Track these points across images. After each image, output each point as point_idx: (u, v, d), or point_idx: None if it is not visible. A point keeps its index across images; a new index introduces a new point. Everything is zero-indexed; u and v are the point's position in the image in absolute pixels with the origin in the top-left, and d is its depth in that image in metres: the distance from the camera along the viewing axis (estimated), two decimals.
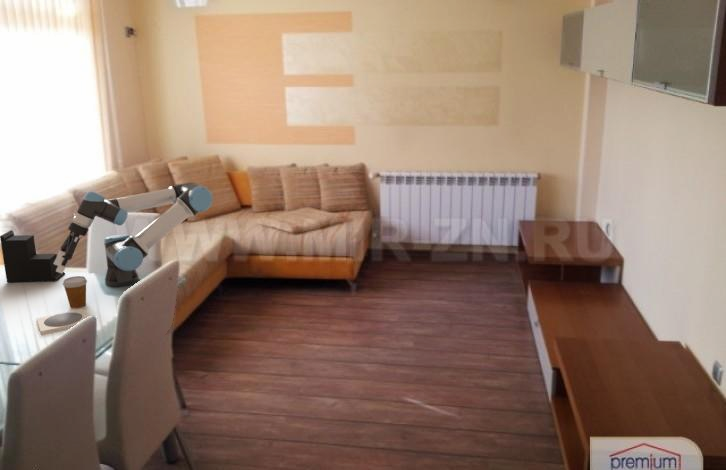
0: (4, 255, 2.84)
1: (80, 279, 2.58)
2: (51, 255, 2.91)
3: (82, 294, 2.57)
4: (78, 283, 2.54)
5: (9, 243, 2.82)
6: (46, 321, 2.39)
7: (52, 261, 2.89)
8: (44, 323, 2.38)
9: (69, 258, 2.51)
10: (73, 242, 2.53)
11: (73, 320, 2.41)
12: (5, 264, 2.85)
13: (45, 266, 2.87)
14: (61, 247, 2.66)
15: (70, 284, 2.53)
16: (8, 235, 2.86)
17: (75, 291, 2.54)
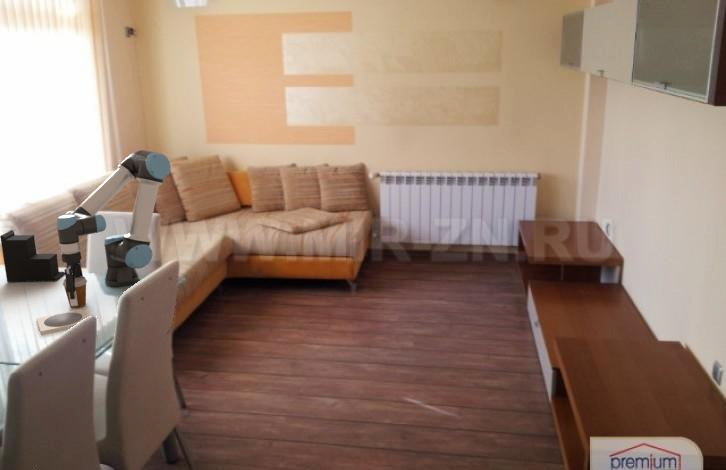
0: (4, 255, 2.84)
1: (80, 279, 2.58)
2: (51, 255, 2.92)
3: (82, 294, 2.57)
4: (78, 283, 2.54)
5: (9, 243, 2.83)
6: (46, 321, 2.39)
7: (52, 261, 2.89)
8: (44, 323, 2.38)
9: (71, 291, 2.50)
10: (67, 275, 2.49)
11: (73, 320, 2.41)
12: (5, 264, 2.85)
13: (45, 266, 2.87)
14: None
15: None
16: (8, 235, 2.86)
17: None
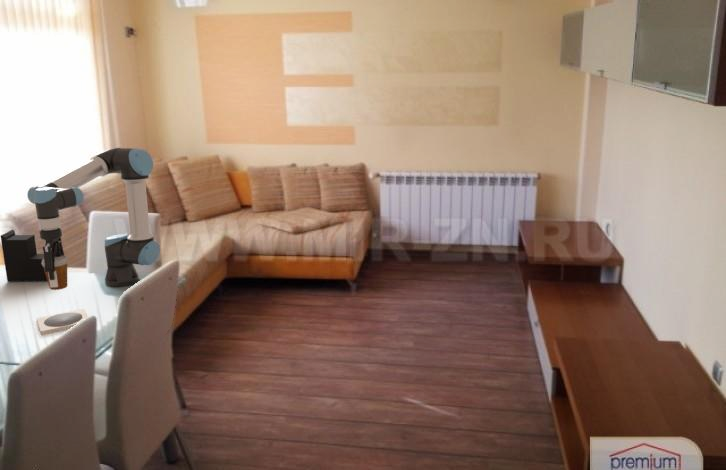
0: (4, 255, 2.85)
1: (61, 258, 2.36)
2: None
3: (63, 274, 2.35)
4: (58, 262, 2.32)
5: (9, 243, 2.83)
6: (46, 321, 2.39)
7: None
8: (44, 323, 2.38)
9: (50, 271, 2.28)
10: (46, 253, 2.27)
11: (73, 320, 2.41)
12: (5, 263, 2.86)
13: None
14: None
15: None
16: (9, 235, 2.87)
17: None
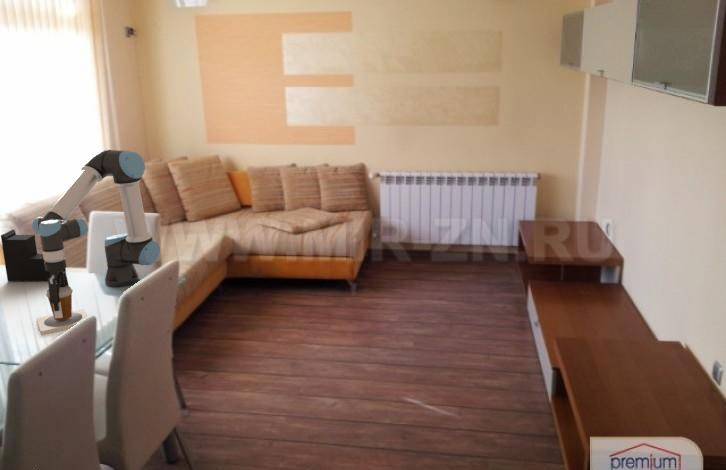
0: (5, 254, 2.85)
1: (65, 289, 2.39)
2: None
3: (68, 305, 2.38)
4: (63, 293, 2.35)
5: (9, 243, 2.84)
6: (46, 321, 2.39)
7: None
8: (44, 323, 2.38)
9: (55, 302, 2.32)
10: (50, 285, 2.31)
11: (73, 320, 2.41)
12: (6, 263, 2.86)
13: None
14: None
15: None
16: (9, 234, 2.87)
17: None
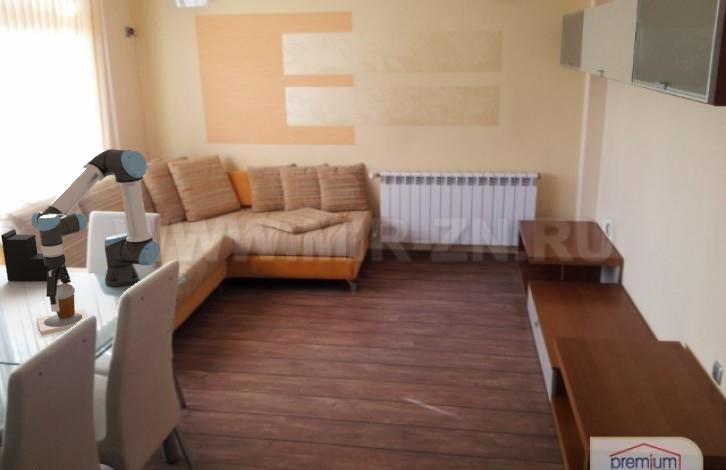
0: (5, 254, 2.85)
1: (67, 288, 2.41)
2: None
3: (71, 304, 2.41)
4: (66, 294, 2.37)
5: (9, 243, 2.84)
6: (46, 321, 2.39)
7: None
8: (44, 323, 2.38)
9: (51, 296, 2.28)
10: (49, 278, 2.29)
11: (73, 320, 2.41)
12: (6, 263, 2.87)
13: (45, 266, 2.87)
14: None
15: None
16: (10, 234, 2.87)
17: (63, 302, 2.38)
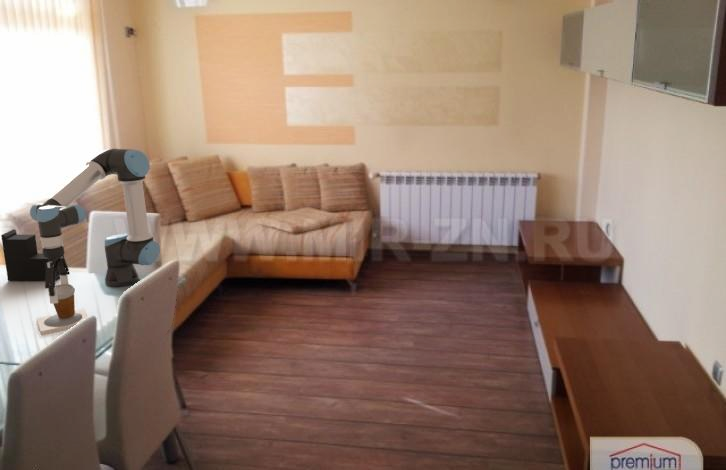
0: (5, 254, 2.86)
1: (67, 288, 2.41)
2: None
3: (71, 304, 2.41)
4: (66, 294, 2.37)
5: (9, 243, 2.84)
6: (46, 321, 2.39)
7: None
8: (44, 323, 2.38)
9: (50, 287, 2.27)
10: (47, 269, 2.28)
11: (73, 320, 2.41)
12: (6, 263, 2.87)
13: None
14: None
15: (57, 296, 2.36)
16: (10, 234, 2.88)
17: (63, 303, 2.38)
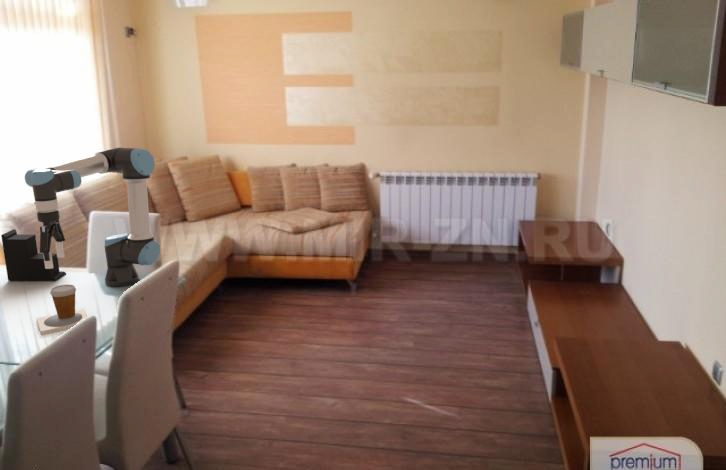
0: (5, 254, 2.86)
1: (69, 288, 2.43)
2: None
3: (72, 303, 2.42)
4: (67, 292, 2.39)
5: (9, 242, 2.84)
6: (46, 321, 2.39)
7: None
8: (44, 323, 2.38)
9: (45, 252, 2.24)
10: (42, 233, 2.25)
11: (73, 320, 2.41)
12: (6, 263, 2.87)
13: None
14: None
15: (58, 293, 2.38)
16: (10, 234, 2.88)
17: (64, 300, 2.39)
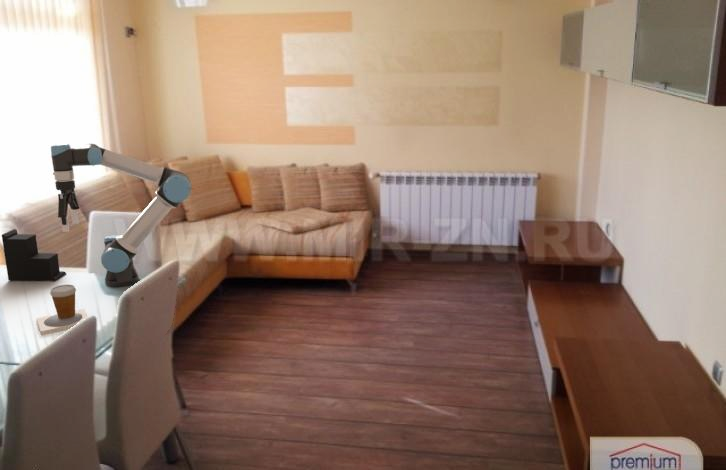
0: (5, 254, 2.86)
1: (69, 288, 2.43)
2: (51, 255, 2.92)
3: (71, 303, 2.42)
4: (67, 292, 2.39)
5: (10, 242, 2.85)
6: (46, 321, 2.39)
7: (51, 261, 2.89)
8: (44, 323, 2.38)
9: (62, 216, 2.52)
10: (60, 200, 2.53)
11: (73, 320, 2.41)
12: (7, 262, 2.87)
13: (44, 266, 2.87)
14: None
15: (58, 293, 2.38)
16: (10, 234, 2.88)
17: (63, 301, 2.39)
